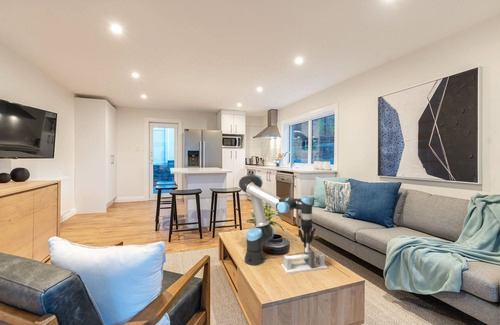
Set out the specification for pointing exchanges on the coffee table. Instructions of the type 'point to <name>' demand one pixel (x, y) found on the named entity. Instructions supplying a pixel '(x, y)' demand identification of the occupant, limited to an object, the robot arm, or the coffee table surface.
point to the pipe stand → (303, 263)
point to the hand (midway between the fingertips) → (306, 251)
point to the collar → (310, 257)
